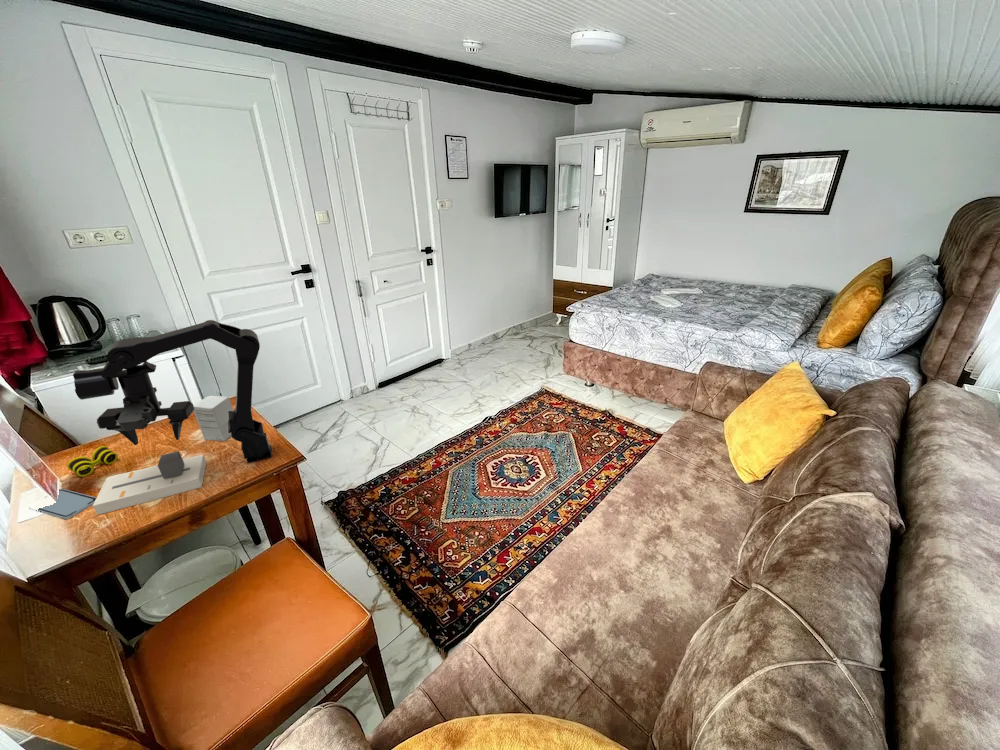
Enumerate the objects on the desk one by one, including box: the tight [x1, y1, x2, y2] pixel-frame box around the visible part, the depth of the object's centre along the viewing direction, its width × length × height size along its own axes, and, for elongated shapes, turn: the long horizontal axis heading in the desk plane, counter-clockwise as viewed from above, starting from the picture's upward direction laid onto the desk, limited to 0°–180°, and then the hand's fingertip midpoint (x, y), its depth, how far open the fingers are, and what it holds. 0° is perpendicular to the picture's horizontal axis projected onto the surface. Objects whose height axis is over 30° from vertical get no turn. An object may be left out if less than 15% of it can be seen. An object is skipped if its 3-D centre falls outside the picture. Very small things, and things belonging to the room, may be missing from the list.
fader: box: [157, 450, 184, 479], centre depth 111 cm, size 4×5×4 cm
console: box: [92, 454, 207, 516], centre depth 111 cm, size 22×12×3 cm, turn 117°
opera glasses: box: [66, 445, 119, 477], centre depth 119 cm, size 10×5×5 cm, turn 155°
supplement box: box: [193, 395, 234, 442], centre depth 132 cm, size 7×7×13 cm
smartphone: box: [37, 488, 97, 520], centre depth 106 cm, size 7×1×15 cm
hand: (157, 441), depth 109 cm, fingers open, 9 cm apart
